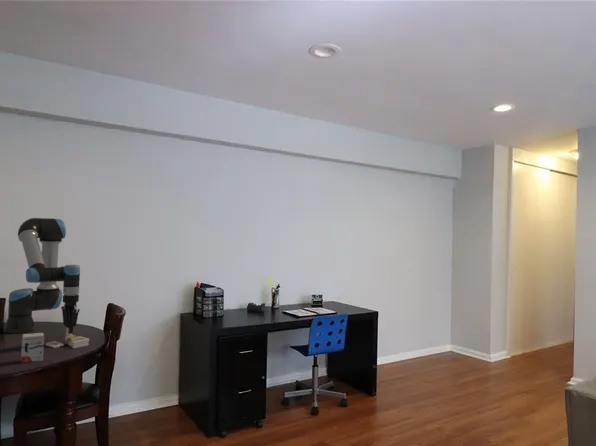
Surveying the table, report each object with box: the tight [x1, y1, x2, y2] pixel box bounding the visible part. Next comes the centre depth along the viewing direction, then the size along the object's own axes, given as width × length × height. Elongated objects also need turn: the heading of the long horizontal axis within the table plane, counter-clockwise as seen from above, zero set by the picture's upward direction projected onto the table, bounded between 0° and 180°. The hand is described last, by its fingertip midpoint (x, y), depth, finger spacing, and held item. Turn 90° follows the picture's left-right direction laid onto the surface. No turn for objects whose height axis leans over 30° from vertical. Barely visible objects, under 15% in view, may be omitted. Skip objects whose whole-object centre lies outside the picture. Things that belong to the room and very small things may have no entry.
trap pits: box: [45, 335, 89, 349], centre depth 237 cm, size 8×19×1 cm, turn 148°
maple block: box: [64, 335, 82, 347], centre depth 234 cm, size 6×5×4 cm
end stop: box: [71, 338, 90, 349], centre depth 231 cm, size 2×8×3 cm, turn 148°
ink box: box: [20, 332, 45, 363], centre depth 206 cm, size 8×5×12 cm, turn 123°
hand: (69, 339), depth 236 cm, fingers closed
